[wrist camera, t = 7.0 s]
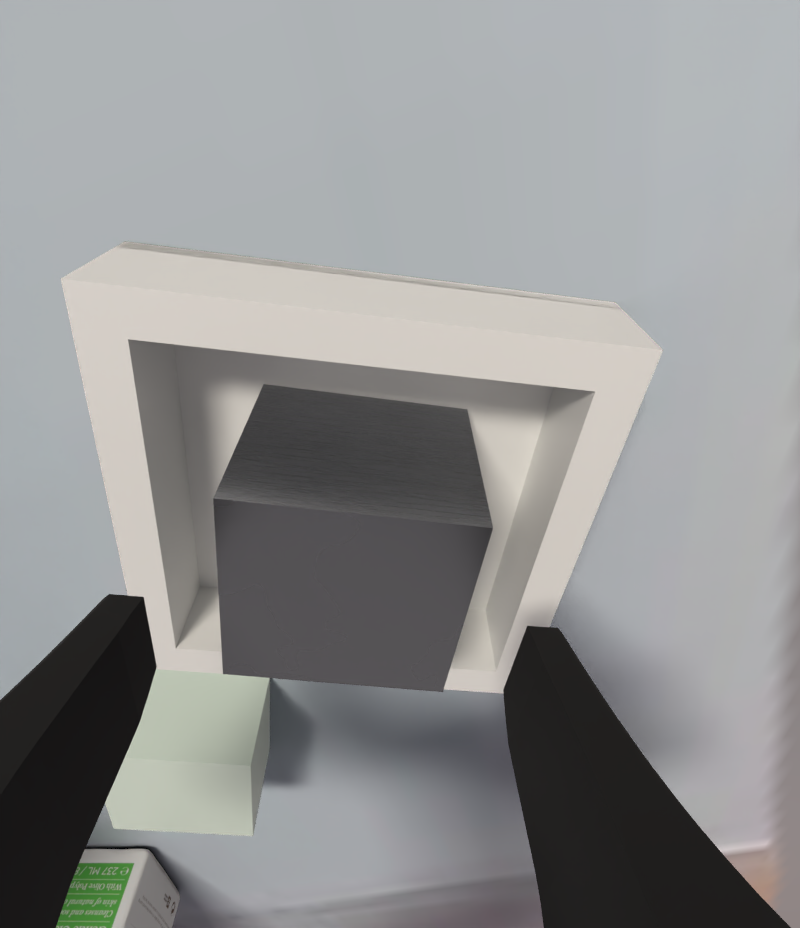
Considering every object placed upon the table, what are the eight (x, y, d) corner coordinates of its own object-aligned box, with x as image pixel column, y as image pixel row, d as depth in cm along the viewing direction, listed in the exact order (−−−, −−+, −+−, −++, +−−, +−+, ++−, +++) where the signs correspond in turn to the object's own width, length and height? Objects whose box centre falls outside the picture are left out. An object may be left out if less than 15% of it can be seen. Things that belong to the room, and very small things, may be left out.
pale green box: (270, 743, 24) (253, 836, 21) (149, 735, 23) (113, 828, 20) (271, 670, 21) (250, 766, 18) (132, 660, 21) (89, 755, 18)
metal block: (432, 556, 17) (442, 691, 13) (262, 538, 16) (222, 674, 13) (466, 409, 14) (493, 528, 10) (263, 384, 14) (213, 498, 10)
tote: (506, 620, 19) (521, 694, 17) (175, 594, 18) (143, 668, 16) (615, 302, 13) (663, 349, 11) (124, 241, 12) (60, 278, 10)
